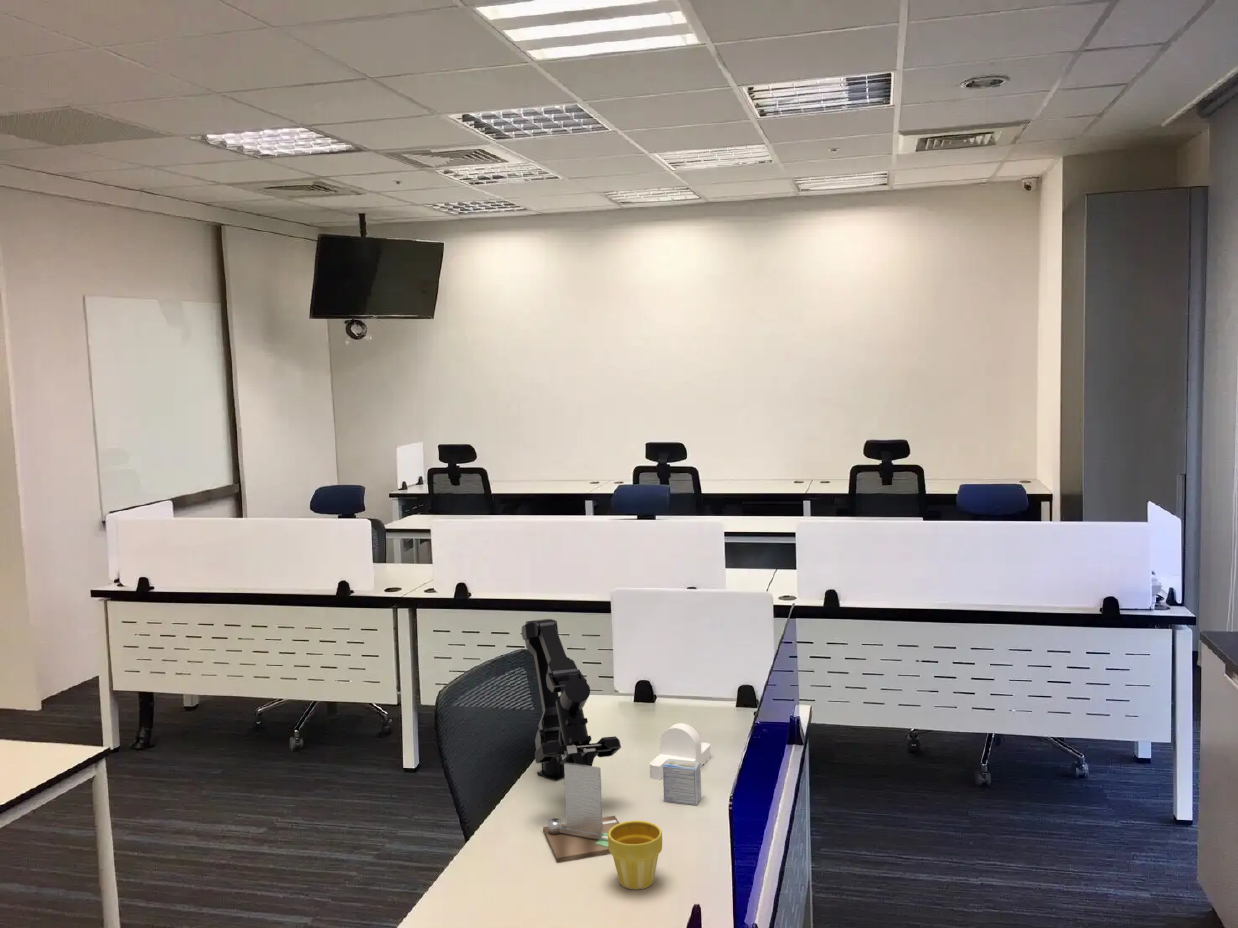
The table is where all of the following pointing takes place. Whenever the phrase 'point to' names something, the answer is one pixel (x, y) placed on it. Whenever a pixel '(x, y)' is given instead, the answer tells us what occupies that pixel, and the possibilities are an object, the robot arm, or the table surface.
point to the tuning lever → (581, 803)
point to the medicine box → (682, 781)
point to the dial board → (579, 843)
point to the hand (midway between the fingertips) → (585, 788)
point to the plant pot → (635, 852)
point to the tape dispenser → (679, 748)
